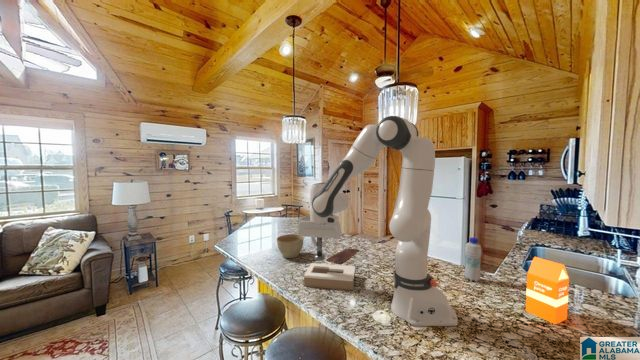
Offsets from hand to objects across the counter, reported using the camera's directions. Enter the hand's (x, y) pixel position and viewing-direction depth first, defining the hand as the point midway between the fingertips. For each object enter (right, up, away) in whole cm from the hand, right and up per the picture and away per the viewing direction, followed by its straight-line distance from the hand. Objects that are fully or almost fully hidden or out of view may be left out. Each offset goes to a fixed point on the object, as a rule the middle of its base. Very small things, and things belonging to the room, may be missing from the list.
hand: (319, 246), depth 118 cm
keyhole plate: (+5, -16, 0) cm, 17 cm away
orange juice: (+81, -17, -28) cm, 88 cm away
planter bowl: (-18, -15, +33) cm, 40 cm away
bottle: (+72, -16, 0) cm, 73 cm away
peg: (0, -6, 0) cm, 6 cm away
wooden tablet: (+15, -15, +32) cm, 39 cm away
